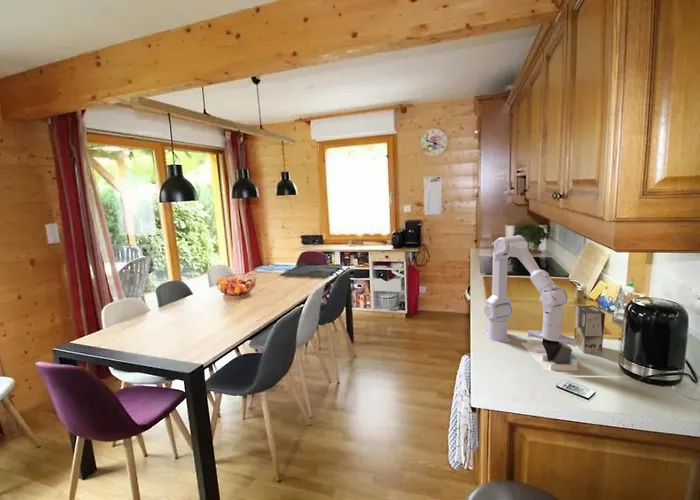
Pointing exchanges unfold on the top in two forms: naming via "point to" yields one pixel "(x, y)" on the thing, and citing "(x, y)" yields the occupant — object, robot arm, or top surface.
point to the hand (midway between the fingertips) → (550, 359)
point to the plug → (561, 354)
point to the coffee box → (589, 329)
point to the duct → (541, 357)
